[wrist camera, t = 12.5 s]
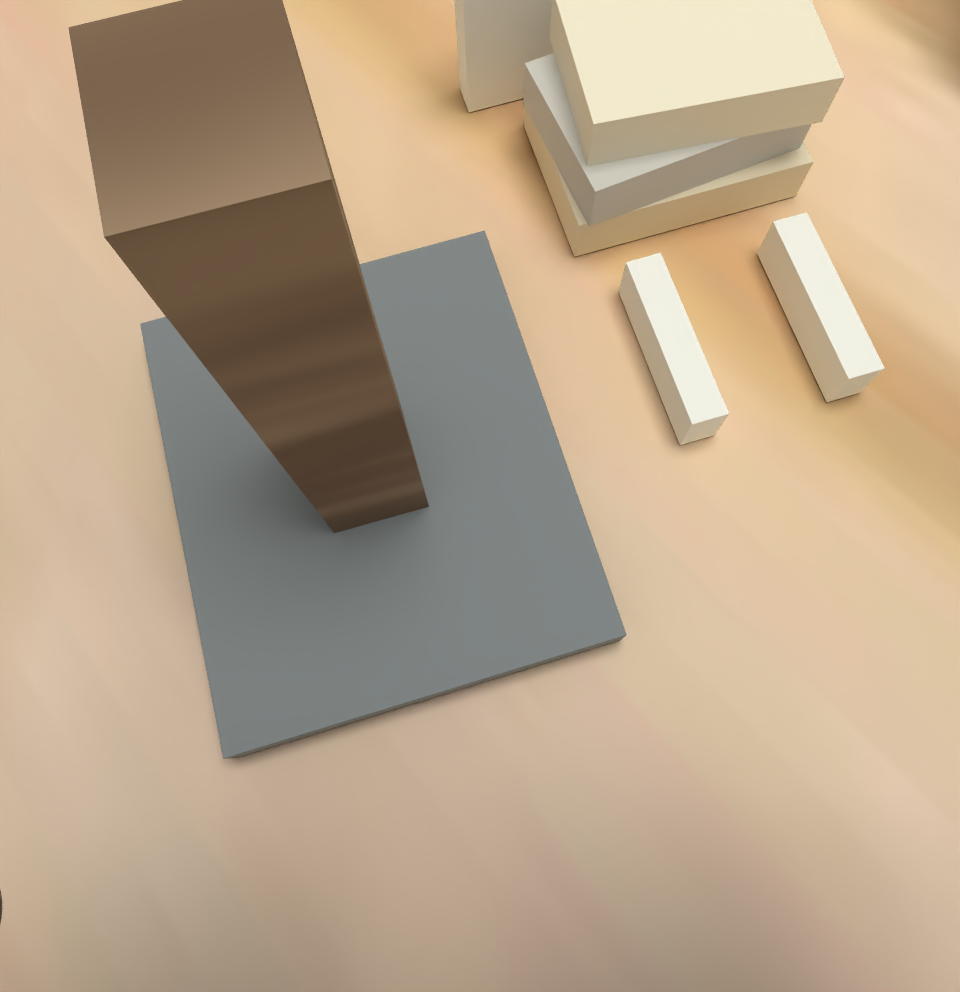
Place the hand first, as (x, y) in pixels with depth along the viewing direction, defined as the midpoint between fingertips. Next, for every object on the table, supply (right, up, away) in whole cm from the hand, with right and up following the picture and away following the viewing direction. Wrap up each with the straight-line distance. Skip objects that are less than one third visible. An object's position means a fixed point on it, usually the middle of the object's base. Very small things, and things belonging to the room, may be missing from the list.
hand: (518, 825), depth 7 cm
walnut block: (-3, +4, +14) cm, 15 cm away
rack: (+6, +11, +17) cm, 21 cm away
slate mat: (-3, +3, +15) cm, 15 cm away
